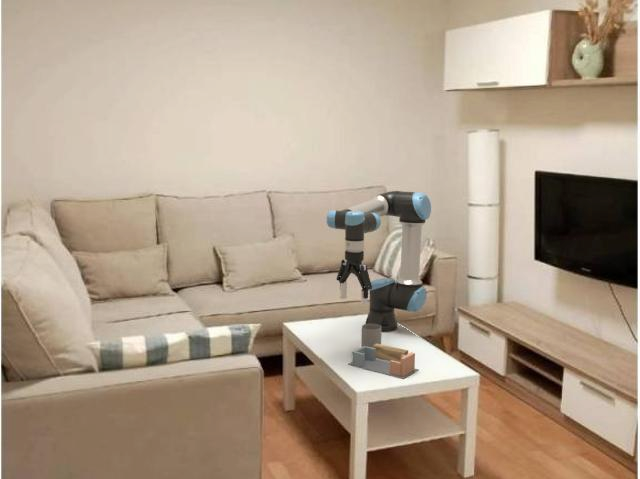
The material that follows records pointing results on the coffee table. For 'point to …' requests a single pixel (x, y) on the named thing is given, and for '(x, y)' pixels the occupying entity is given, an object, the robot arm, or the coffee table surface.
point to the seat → (373, 362)
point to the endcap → (403, 365)
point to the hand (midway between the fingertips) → (353, 302)
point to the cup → (370, 335)
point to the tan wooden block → (389, 352)
